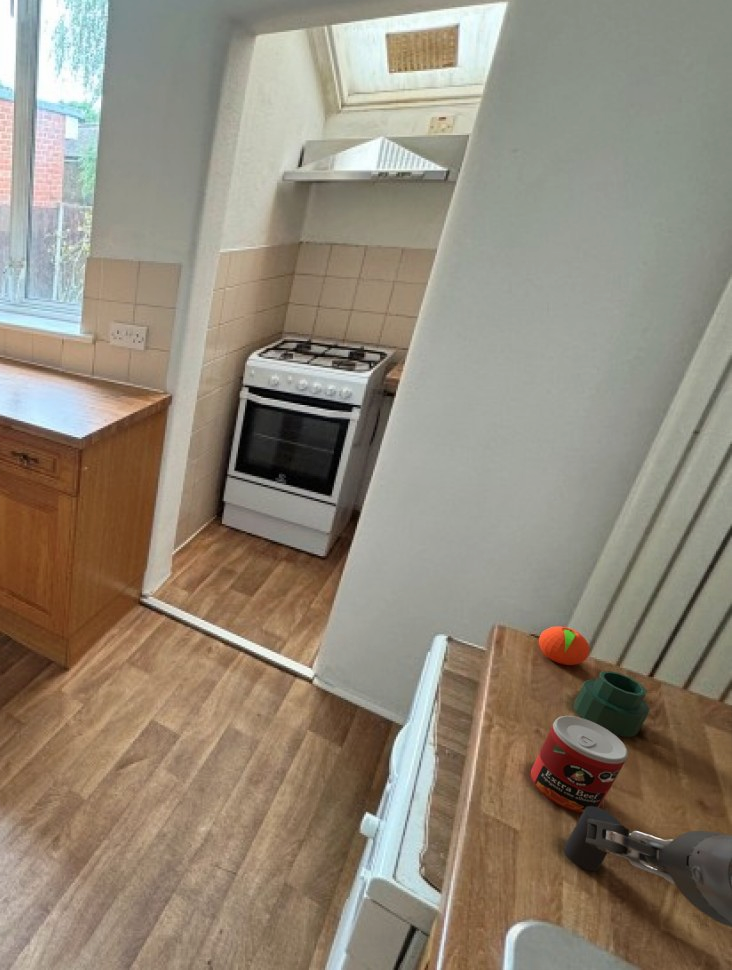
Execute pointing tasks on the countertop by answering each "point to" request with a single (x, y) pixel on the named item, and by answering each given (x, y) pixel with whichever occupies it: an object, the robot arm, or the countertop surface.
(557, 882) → the countertop surface
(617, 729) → the green pipe coupling
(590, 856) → the plug
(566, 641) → the clementine
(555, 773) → the canned food
